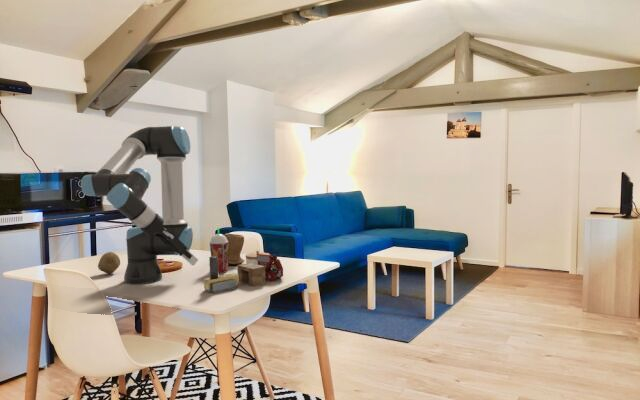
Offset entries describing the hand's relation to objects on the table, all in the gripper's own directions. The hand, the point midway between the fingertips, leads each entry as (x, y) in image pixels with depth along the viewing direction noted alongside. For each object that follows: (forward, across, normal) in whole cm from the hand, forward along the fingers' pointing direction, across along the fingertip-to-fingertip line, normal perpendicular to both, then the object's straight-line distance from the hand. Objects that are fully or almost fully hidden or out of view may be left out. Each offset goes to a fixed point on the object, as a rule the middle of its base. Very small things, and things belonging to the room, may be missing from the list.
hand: (195, 262), depth 170 cm
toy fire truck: (+32, -1, +15) cm, 36 cm away
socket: (+26, -1, +9) cm, 27 cm away
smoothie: (+27, -30, +10) cm, 42 cm away
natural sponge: (+1, -64, -16) cm, 66 cm away
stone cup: (+36, -43, +20) cm, 59 cm away
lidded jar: (+36, -17, +19) cm, 44 cm away
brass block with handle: (+15, -1, 0) cm, 15 cm away
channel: (+16, -1, -1) cm, 16 cm away
